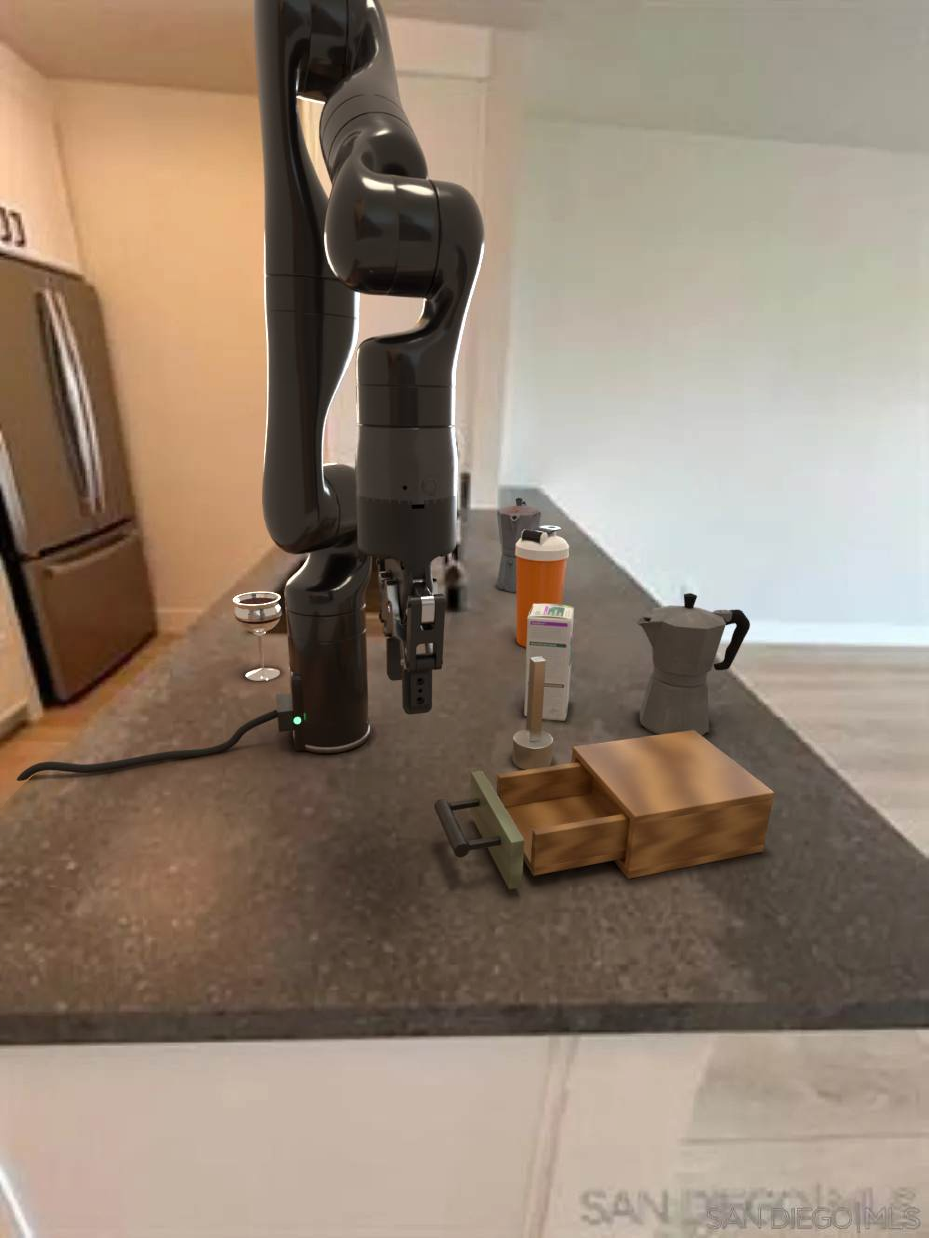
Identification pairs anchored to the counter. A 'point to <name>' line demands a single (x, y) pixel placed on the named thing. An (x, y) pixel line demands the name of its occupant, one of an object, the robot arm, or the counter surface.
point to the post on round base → (533, 724)
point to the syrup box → (551, 655)
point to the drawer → (539, 821)
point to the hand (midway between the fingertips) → (408, 693)
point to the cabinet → (679, 800)
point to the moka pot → (513, 539)
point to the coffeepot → (685, 663)
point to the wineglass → (258, 623)
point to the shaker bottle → (539, 572)
